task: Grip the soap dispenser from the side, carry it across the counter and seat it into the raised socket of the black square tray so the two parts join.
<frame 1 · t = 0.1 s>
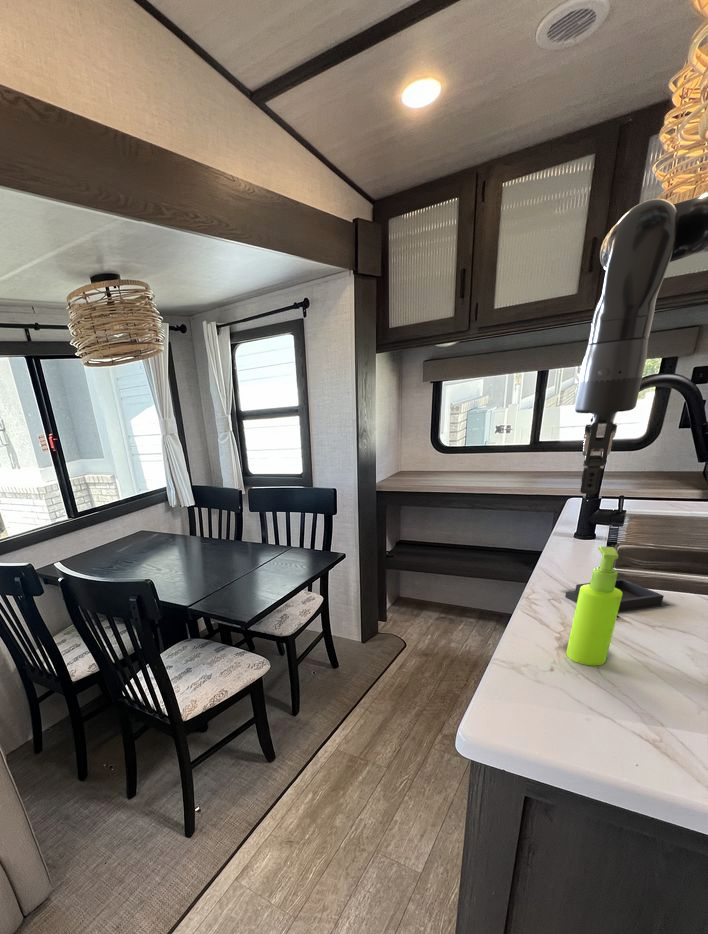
hand: (588, 487, 75), 30 cm above the counter, tool pointing down, fingers open, 8 cm apart
black square tray: (615, 603, 102), on the counter
soap dispenser: (584, 656, 84), on the counter
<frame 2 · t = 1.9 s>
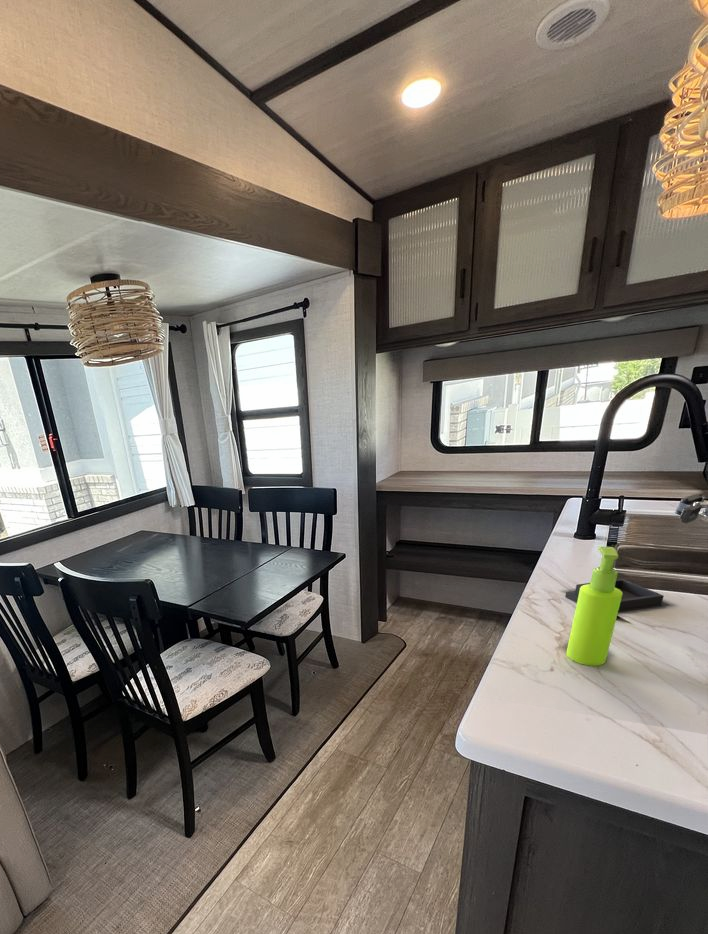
nothing on the counter moved.
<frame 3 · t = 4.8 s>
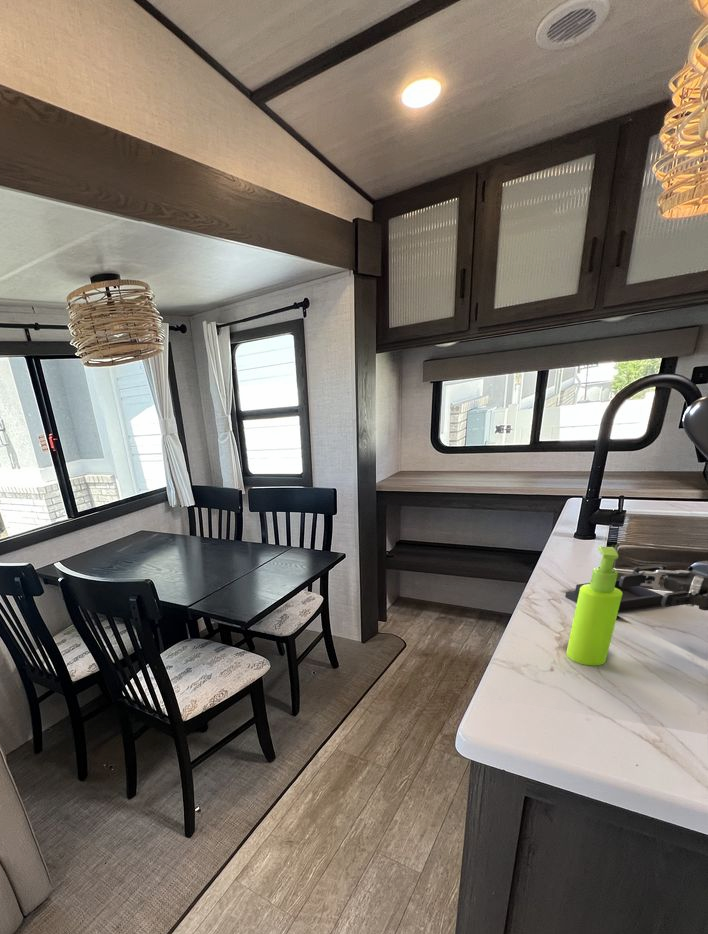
hand: (641, 590, 81), 12 cm above the counter, tool horizontal, fingers open, 8 cm apart
nothing on the counter moved.
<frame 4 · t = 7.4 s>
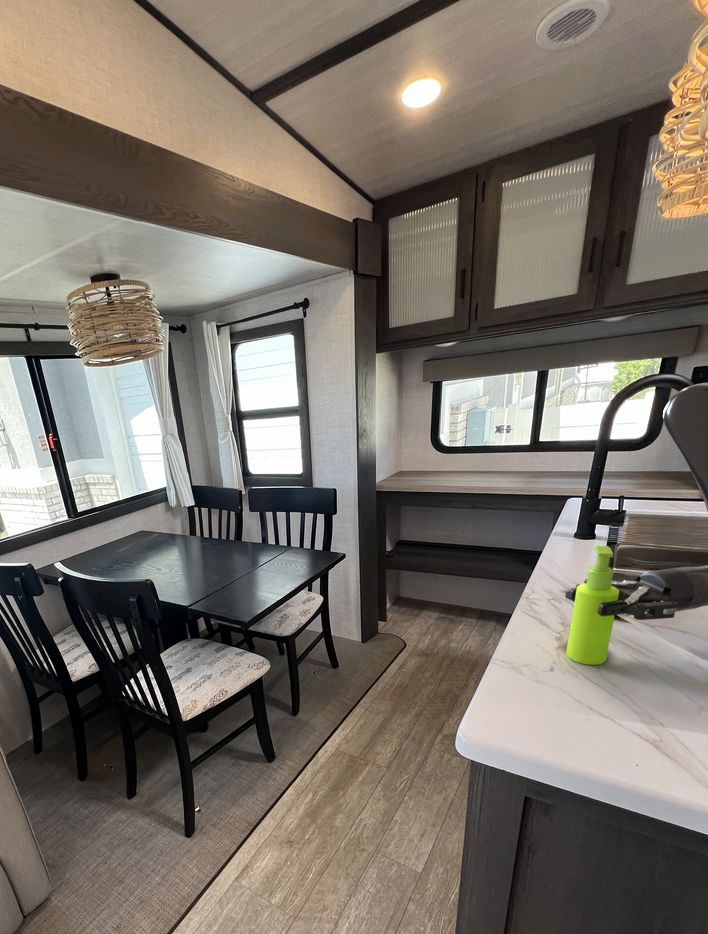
hand: (585, 602, 80), 11 cm above the counter, tool horizontal, fingers closed on soap dispenser, 6 cm apart
soap dispenser: (584, 656, 84), on the counter, touching gripper
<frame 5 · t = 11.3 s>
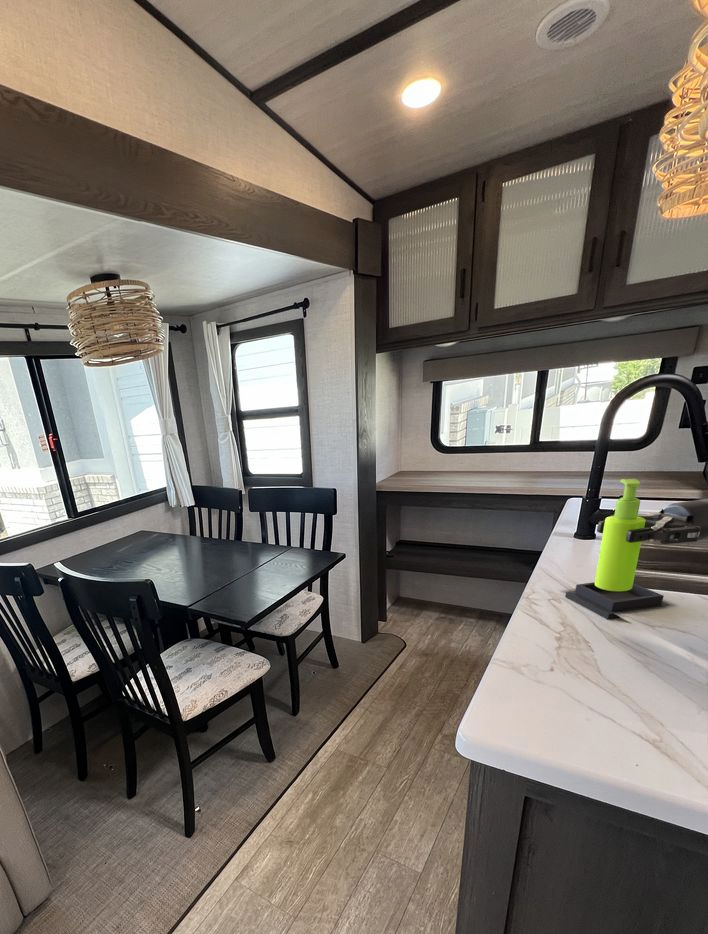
hand: (613, 531, 86), 20 cm above the counter, tool horizontal, fingers closed on soap dispenser, 6 cm apart
soap dispenser: (612, 585, 90), point 8 cm above the counter, touching gripper
when the fingers open (12 cm above the counter, at t = 15.5 s): soap dispenser stays where it is, resting on black square tray.
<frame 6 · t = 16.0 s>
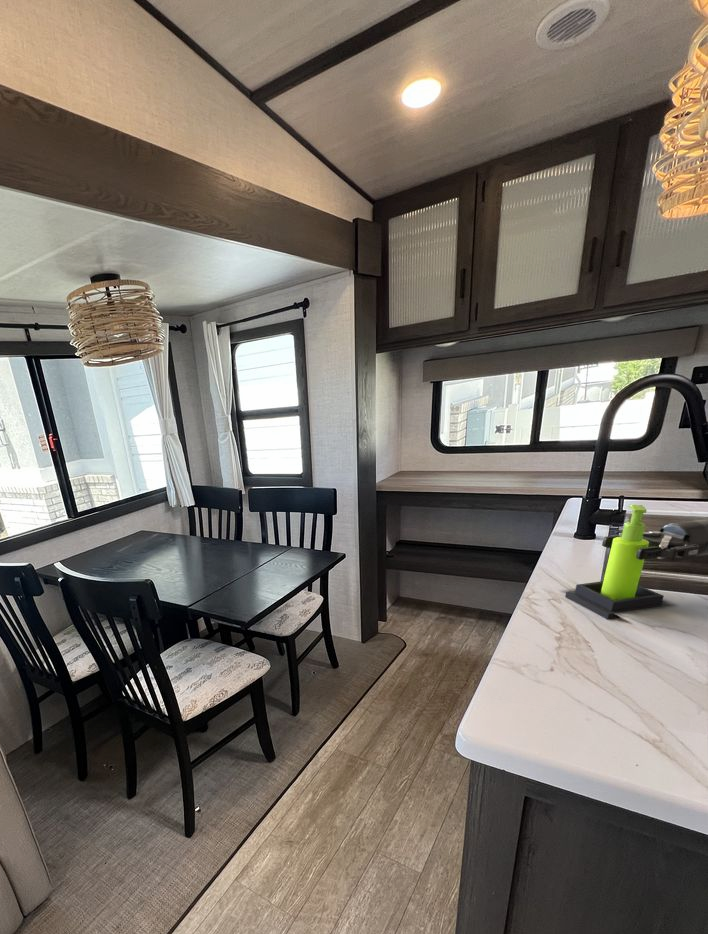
hand: (620, 548, 96), 13 cm above the counter, tool horizontal, fingers open, 8 cm apart
soap dispenser: (615, 598, 101), point 1 cm above the counter, touching black square tray
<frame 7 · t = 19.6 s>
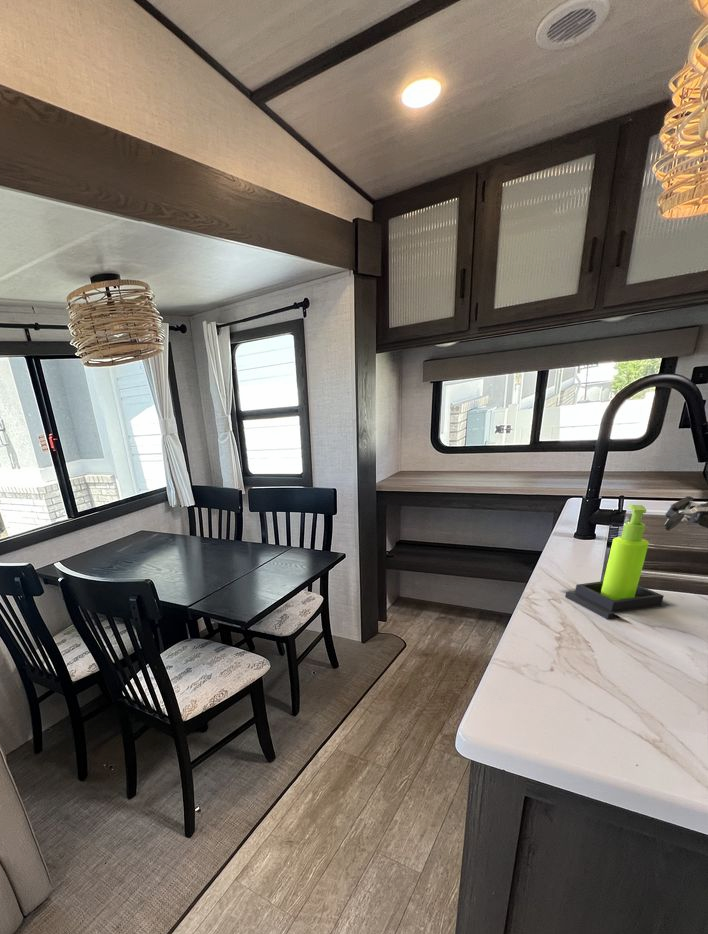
hand: (692, 537, 90), 16 cm above the counter, tool horizontal, fingers open, 8 cm apart
nothing on the counter moved.
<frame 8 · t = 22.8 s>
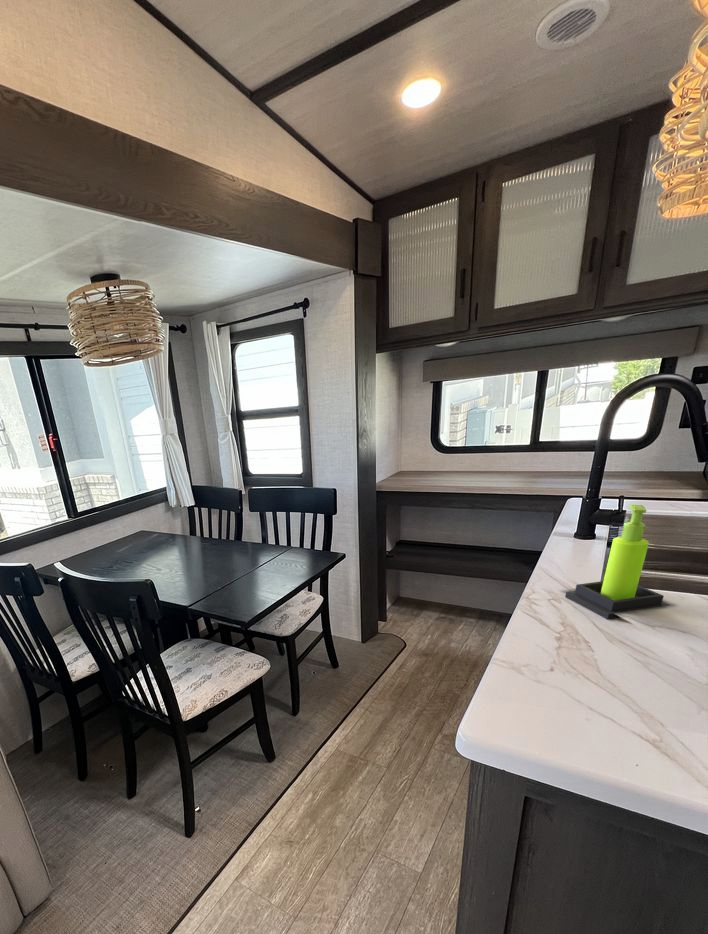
nothing on the counter moved.
at the end: soap dispenser 0.2 cm off-centre on the black square tray, point 1.0 cm above the black square tray's base; soap dispenser tilted 0° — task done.
